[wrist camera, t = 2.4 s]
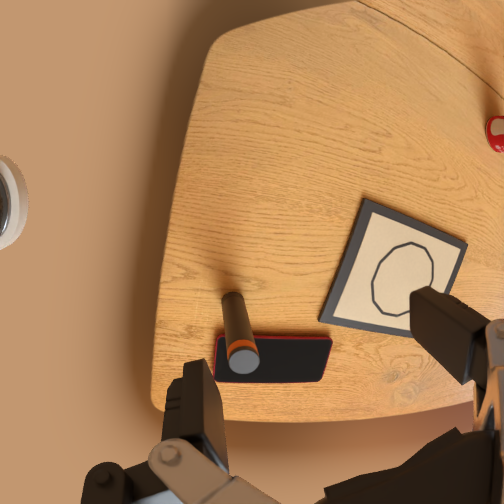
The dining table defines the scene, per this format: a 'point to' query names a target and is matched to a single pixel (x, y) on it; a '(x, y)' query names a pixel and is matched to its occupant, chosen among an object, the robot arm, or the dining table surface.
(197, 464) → the robot arm
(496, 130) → the beverage can
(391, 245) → the board
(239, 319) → the marker
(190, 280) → the dining table surface
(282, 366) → the smartphone
